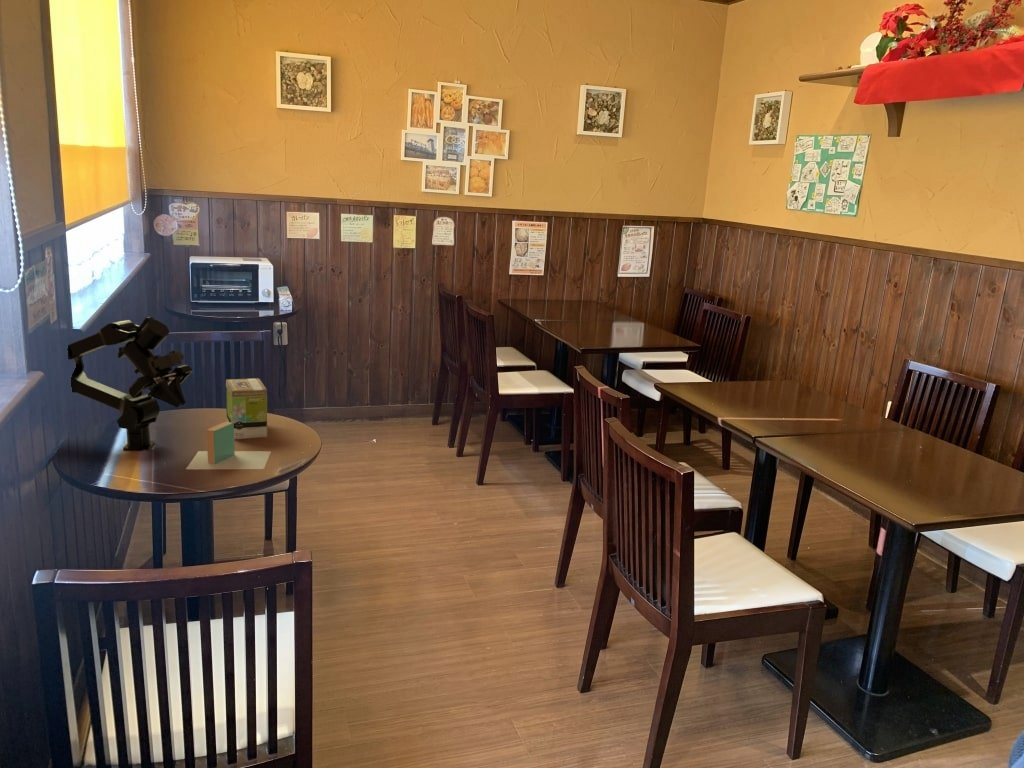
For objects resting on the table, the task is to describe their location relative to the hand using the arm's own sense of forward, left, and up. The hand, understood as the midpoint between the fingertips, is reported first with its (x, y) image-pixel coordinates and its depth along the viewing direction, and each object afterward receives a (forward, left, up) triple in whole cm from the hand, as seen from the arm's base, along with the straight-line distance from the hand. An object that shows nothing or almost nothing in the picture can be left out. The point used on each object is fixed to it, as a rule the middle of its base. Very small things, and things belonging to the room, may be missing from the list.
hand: (181, 405), depth 204 cm
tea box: (-20, +13, -14) cm, 28 cm away
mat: (+6, +13, -14) cm, 20 cm away
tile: (+5, +11, -13) cm, 18 cm away
